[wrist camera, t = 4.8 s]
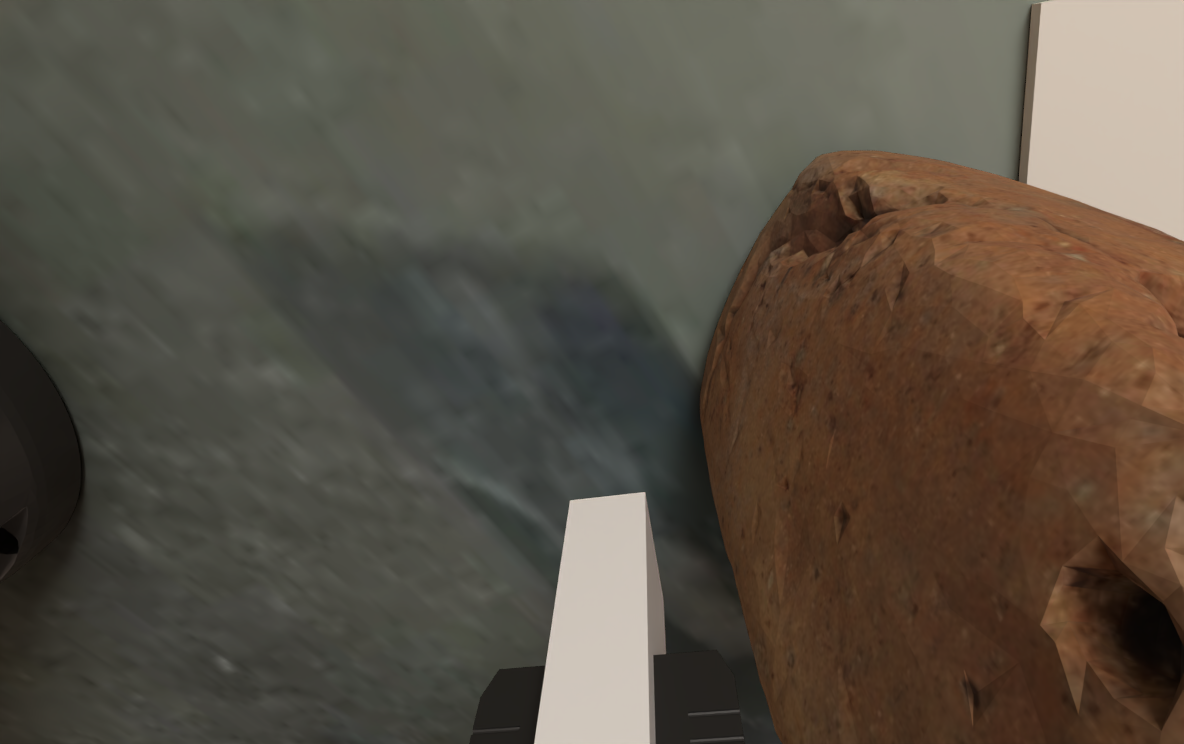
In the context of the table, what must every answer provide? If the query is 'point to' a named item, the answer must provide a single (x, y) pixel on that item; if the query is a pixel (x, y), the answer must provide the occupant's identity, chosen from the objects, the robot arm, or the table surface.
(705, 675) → the robot arm
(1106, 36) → the mat
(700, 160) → the table surface
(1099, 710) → the raisin bread loaf
